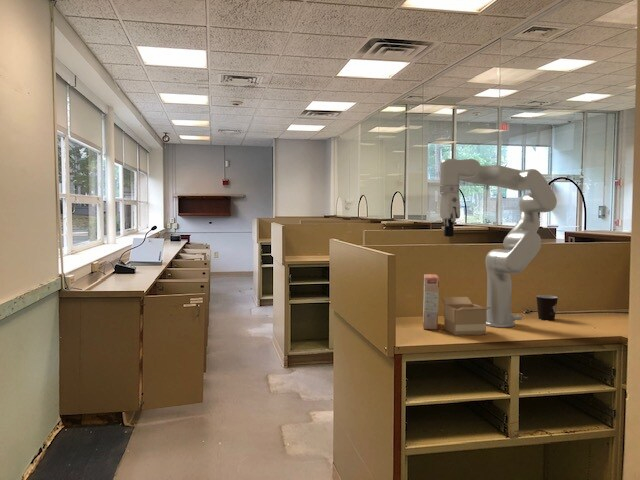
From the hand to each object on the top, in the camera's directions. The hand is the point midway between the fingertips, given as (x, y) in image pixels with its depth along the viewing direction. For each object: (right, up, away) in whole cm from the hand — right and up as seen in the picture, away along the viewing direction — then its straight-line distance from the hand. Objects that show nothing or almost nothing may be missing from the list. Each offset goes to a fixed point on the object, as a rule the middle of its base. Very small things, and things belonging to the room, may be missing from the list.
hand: (448, 236), depth 196 cm
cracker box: (-6, -37, +5) cm, 38 cm away
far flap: (+4, -26, +2) cm, 26 cm away
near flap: (+6, -27, -14) cm, 31 cm away
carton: (+5, -37, -5) cm, 38 cm away
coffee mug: (+50, -37, +20) cm, 65 cm away
